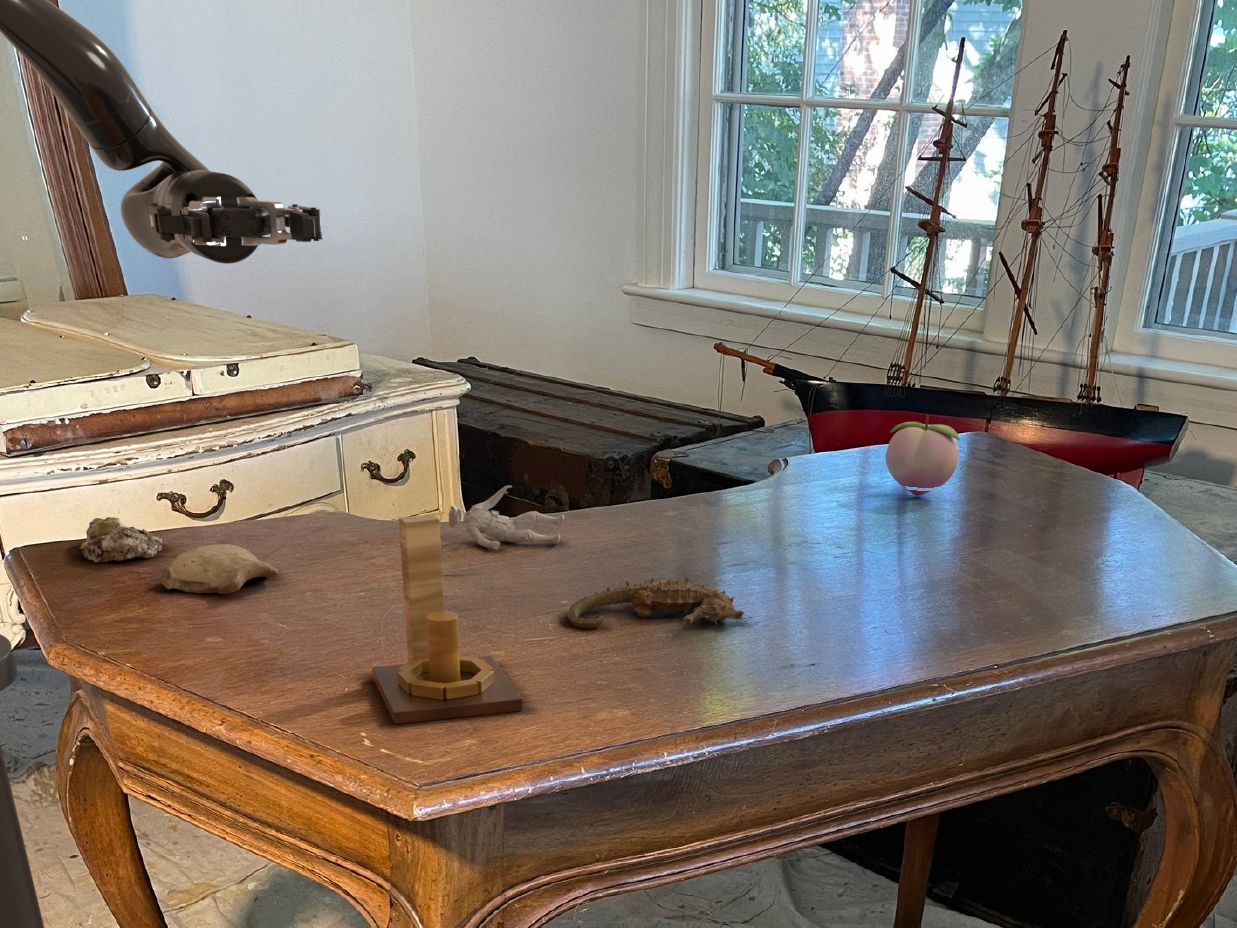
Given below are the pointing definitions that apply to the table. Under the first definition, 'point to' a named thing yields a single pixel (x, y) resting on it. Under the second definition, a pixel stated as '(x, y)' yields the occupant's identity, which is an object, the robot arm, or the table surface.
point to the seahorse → (659, 601)
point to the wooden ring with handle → (426, 598)
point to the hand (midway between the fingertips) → (257, 228)
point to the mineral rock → (117, 541)
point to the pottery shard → (214, 569)
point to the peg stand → (444, 681)
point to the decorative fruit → (922, 455)
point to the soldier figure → (502, 523)
